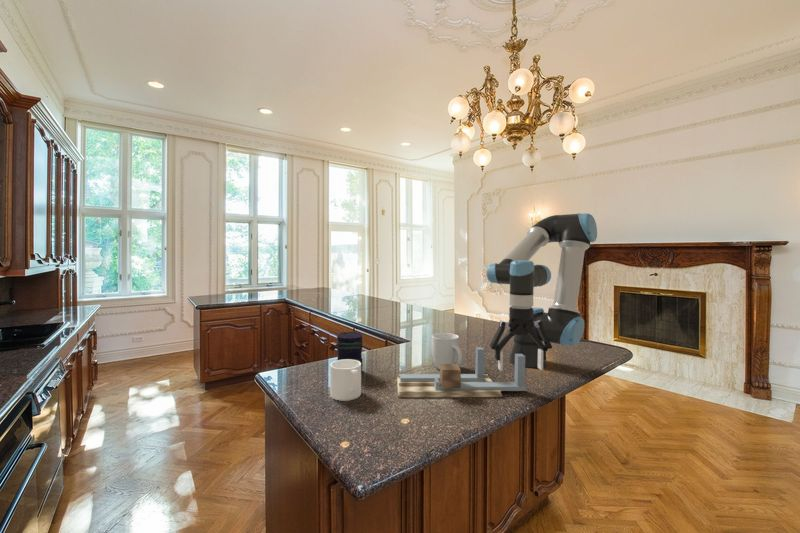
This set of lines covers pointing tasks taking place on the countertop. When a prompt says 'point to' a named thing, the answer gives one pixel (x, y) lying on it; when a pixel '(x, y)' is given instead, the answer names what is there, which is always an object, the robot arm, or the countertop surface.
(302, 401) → the countertop surface
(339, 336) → the storage jar
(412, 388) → the lane board
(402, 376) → the broken strip
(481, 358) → the broken strip
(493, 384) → the strip
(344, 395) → the mug
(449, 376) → the walnut block
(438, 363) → the mug
